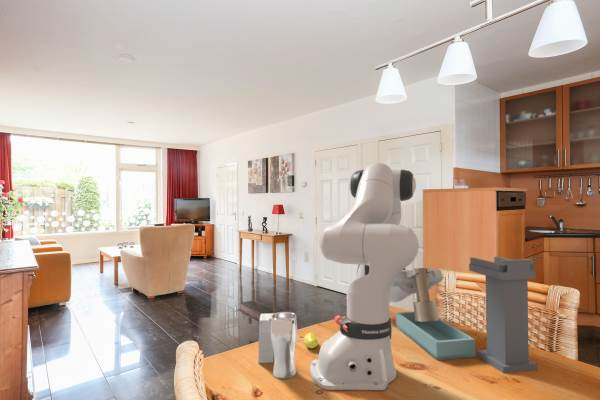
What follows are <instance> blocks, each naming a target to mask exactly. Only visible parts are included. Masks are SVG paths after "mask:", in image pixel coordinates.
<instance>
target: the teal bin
mask: <svg viewBox="0 0 600 400" xmlns="http://www.w3.org/2000/svg"><path fill="white" fill-rule="evenodd" d="M395 327H396V328H397V329H398V330H399V331H400V332H401V333H403V334H404V335H405V336H407V338H409V339H410V340H411V341H412V342H414V343H415V344H416V345H417V346H419V347H420V348H421V349H422V350H423V351H425V352H426V353H427V354H428V355H430V356H431V357H432V358H433V359H434V360H435V361H444V360H455V359H465V358H466V359H467V358H475V357H476V339H475V338H473V337H471V335H469V334H467V333H465V332H463V331H462V330H460V329H459V328H457V327H455V326H453V325H451V324H450V323H449V322H447V321H445V320H443V319H441V318H440V317H438V321H426V322H420V321H415V313H414V311H405V312H395Z"/></svg>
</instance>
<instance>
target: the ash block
mask: <svg viewBox="0 0 600 400" xmlns="http://www.w3.org/2000/svg"><path fill="white" fill-rule="evenodd" d="M413 269H418V271H419V274H418V275H415V276H414V279H415V287H416V293H415V296H416V301H413V302H412V303H413V312H414V313H415V321H420V322H426V321H438V318H439V315H438V307H437V302H436V301H435V300H431V299H430V293H429V292H430V290H428V282H427V274H426V267H417V268H416V267H415V268H413Z"/></svg>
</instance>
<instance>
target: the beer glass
mask: <svg viewBox="0 0 600 400" xmlns="http://www.w3.org/2000/svg"><path fill="white" fill-rule="evenodd" d="M297 341H298V323H297V314H296V313H294V312H291V311H280V312H274V314H273V315H272V316H271V342H272V348H273V353H274V358H273V368H272V375H273V377H274V378H277V379H280V380H287V379H291V378H293V377H295V376H296V374H297V370H296V364H295V354H296V348H297Z"/></svg>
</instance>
